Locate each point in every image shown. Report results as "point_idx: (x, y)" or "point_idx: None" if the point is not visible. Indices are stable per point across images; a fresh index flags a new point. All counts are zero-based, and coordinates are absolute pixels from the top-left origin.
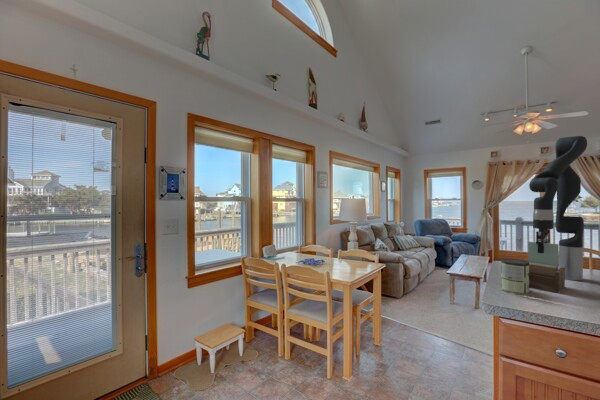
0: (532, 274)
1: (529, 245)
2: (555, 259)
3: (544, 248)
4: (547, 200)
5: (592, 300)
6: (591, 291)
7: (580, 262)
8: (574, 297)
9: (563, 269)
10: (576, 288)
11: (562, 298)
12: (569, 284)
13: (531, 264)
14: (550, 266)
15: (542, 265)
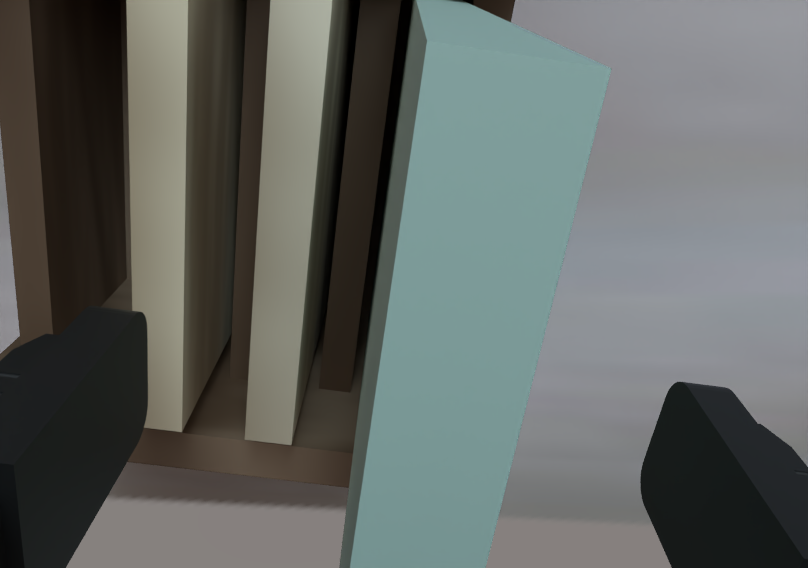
0: (23, 88)
1: (416, 77)
2: (347, 504)
3: (350, 514)
4: None
5: (177, 491)
6: (525, 502)
7: None
8: None
9: (338, 480)
10: (559, 416)
11: (13, 317)
12: (713, 371)
13: (131, 83)
14: (252, 363)
15: (171, 263)
